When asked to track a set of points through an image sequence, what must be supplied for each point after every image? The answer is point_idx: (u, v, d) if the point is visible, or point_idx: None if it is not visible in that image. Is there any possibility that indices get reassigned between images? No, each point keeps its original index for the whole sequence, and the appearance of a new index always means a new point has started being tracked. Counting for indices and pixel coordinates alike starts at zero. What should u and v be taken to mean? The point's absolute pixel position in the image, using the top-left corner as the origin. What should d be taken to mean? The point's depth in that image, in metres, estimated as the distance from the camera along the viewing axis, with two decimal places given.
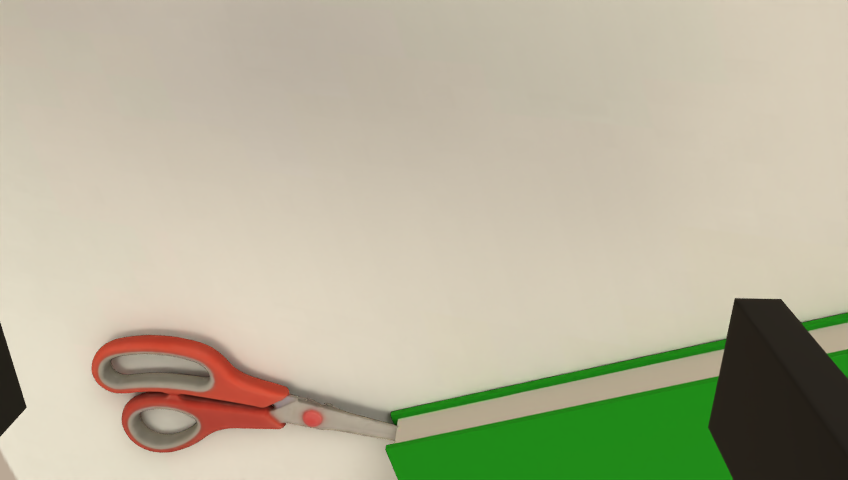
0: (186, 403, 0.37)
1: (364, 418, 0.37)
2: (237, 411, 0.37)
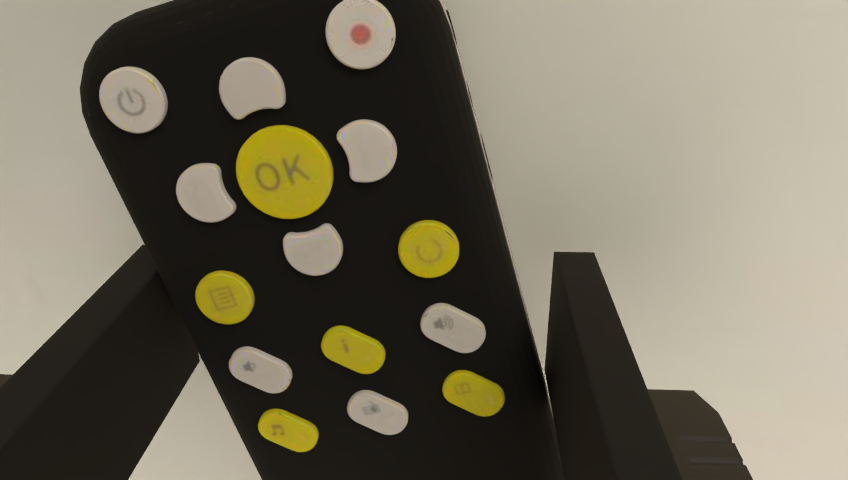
0: None
1: None
2: None
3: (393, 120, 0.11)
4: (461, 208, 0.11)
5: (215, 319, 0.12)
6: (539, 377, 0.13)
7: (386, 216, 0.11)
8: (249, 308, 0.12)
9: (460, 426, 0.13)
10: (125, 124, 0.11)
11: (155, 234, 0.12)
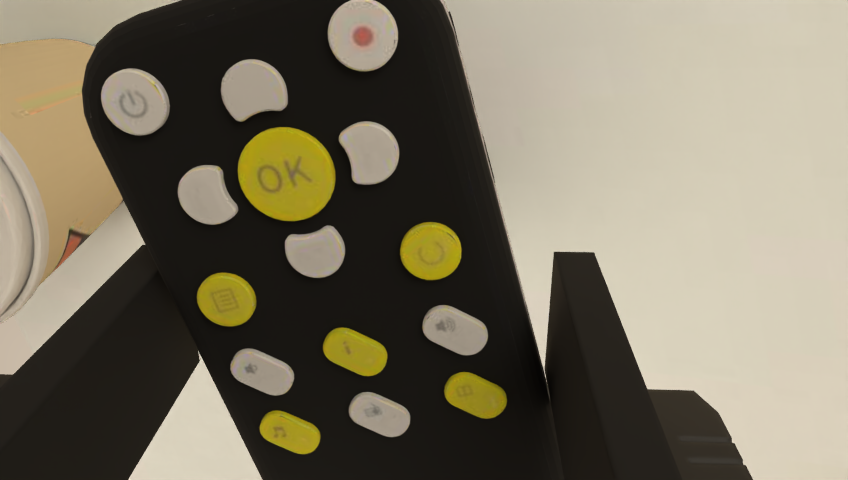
0: None
1: None
2: None
3: (395, 122, 0.11)
4: (462, 210, 0.11)
5: (217, 321, 0.12)
6: (541, 379, 0.13)
7: (387, 217, 0.11)
8: (250, 309, 0.12)
9: (462, 429, 0.13)
10: (127, 126, 0.11)
11: (156, 235, 0.12)
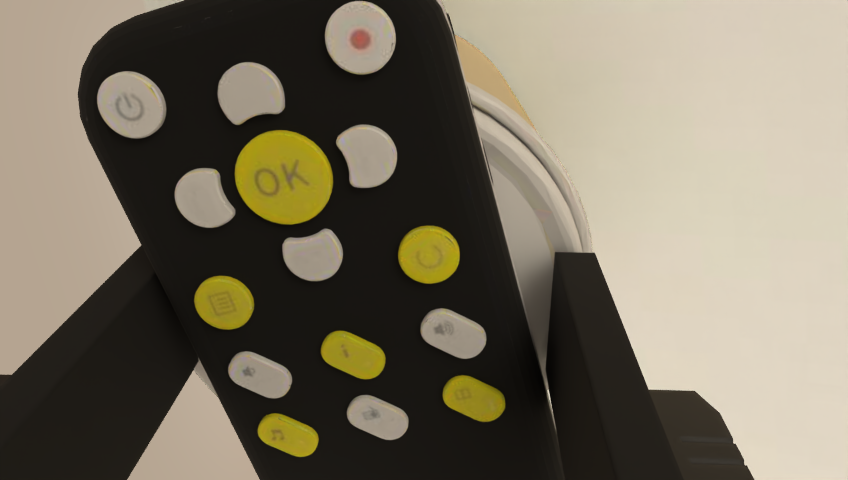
0: None
1: None
2: None
3: (393, 125, 0.10)
4: (461, 213, 0.11)
5: (215, 324, 0.12)
6: (540, 382, 0.13)
7: (386, 220, 0.11)
8: (249, 312, 0.12)
9: (460, 432, 0.13)
10: (123, 129, 0.11)
11: (153, 238, 0.12)
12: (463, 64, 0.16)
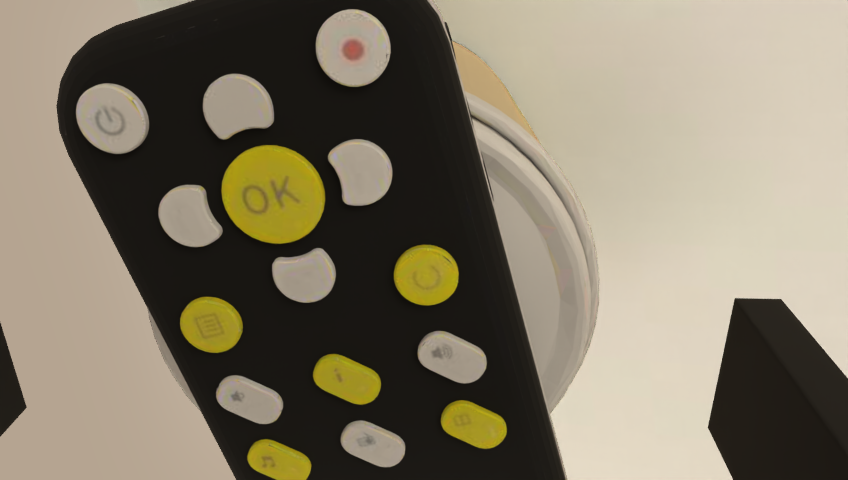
0: None
1: None
2: None
3: (388, 140, 0.10)
4: (460, 232, 0.11)
5: (202, 347, 0.12)
6: (543, 407, 0.12)
7: (381, 240, 0.11)
8: (237, 335, 0.12)
9: (459, 459, 0.12)
10: (104, 144, 0.10)
11: (137, 258, 0.11)
12: (463, 73, 0.16)
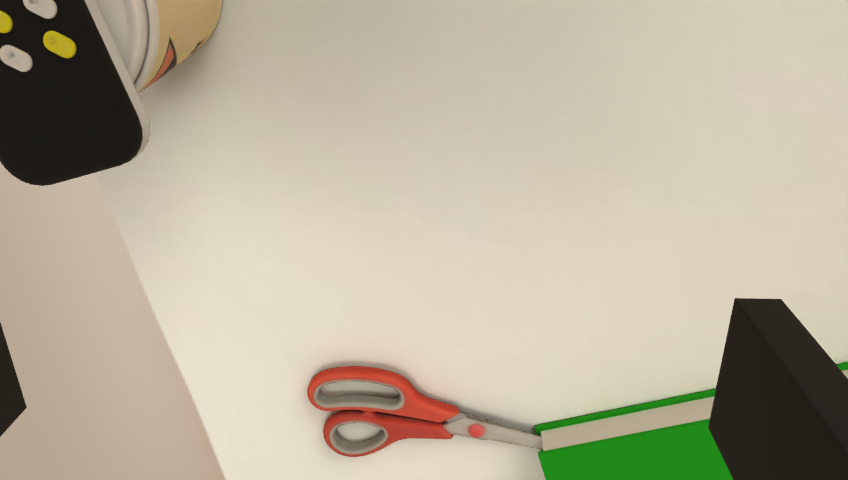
0: (378, 418, 0.48)
1: (517, 431, 0.48)
2: (418, 425, 0.47)
3: None
4: None
5: None
6: (98, 40, 0.25)
7: None
8: None
9: (59, 67, 0.26)
10: None
11: None
12: None
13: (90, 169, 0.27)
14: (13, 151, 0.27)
